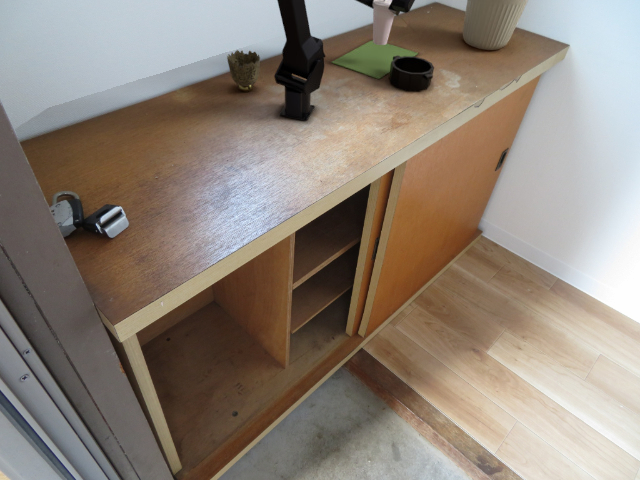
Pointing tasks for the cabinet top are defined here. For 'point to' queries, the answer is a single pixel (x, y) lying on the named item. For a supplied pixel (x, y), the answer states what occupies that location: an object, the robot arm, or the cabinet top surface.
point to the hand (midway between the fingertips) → (387, 10)
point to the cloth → (372, 59)
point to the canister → (491, 22)
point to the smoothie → (381, 21)
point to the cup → (244, 69)
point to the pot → (410, 73)
